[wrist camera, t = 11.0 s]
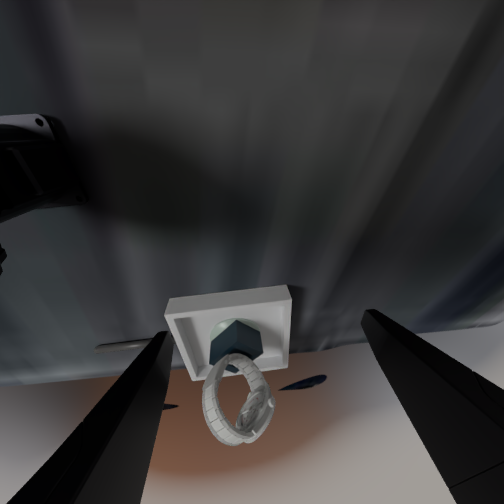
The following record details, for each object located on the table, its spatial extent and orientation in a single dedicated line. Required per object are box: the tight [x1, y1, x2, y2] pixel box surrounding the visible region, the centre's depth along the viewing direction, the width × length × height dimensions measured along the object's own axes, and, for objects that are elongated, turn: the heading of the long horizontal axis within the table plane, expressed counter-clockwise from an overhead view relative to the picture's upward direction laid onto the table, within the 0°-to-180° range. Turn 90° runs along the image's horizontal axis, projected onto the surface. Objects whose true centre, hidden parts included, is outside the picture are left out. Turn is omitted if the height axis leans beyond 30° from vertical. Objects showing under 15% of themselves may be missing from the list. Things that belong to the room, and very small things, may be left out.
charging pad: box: [94, 285, 292, 381], centre depth 27 cm, size 27×15×3 cm, turn 94°
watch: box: [202, 320, 275, 446], centre depth 23 cm, size 6×8×11 cm
